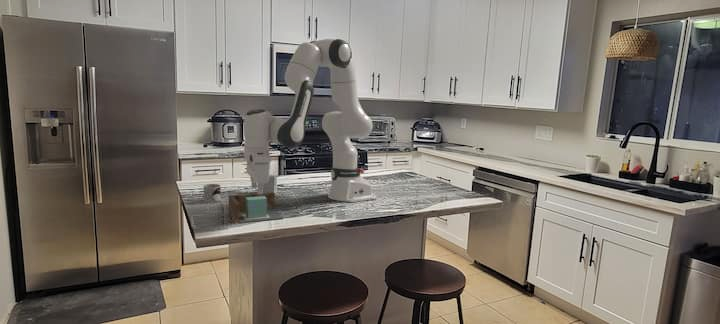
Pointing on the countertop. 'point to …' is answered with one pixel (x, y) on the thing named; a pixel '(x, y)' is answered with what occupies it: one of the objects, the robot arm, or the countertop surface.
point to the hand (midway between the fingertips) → (257, 190)
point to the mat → (271, 215)
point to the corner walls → (239, 204)
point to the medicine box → (271, 184)
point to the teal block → (256, 207)
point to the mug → (212, 193)
